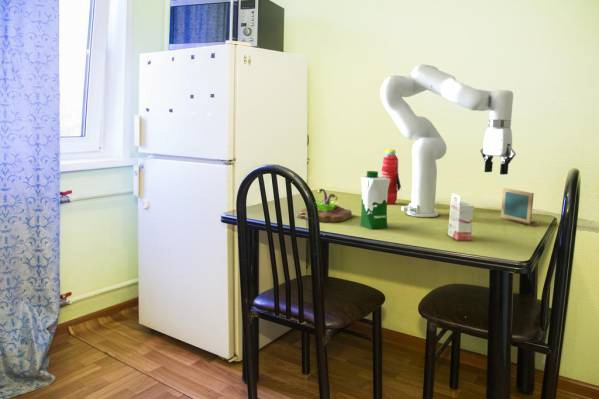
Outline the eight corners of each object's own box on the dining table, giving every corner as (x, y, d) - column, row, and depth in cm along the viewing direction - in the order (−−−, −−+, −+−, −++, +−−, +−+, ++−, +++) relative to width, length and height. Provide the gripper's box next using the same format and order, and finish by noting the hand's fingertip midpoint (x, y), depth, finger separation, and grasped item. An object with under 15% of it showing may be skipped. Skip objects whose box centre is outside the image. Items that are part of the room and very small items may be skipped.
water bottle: (406, 205, 229) (409, 150, 225) (394, 206, 224) (396, 150, 220) (387, 201, 239) (389, 148, 234) (375, 202, 234) (377, 149, 230)
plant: (315, 210, 214) (316, 184, 212) (357, 215, 204) (358, 188, 202) (291, 218, 197) (291, 189, 195) (335, 224, 187) (336, 194, 185)
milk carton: (376, 223, 190) (378, 170, 187) (391, 227, 182) (393, 173, 179) (356, 225, 186) (358, 171, 183) (371, 230, 178) (373, 174, 175)
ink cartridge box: (471, 240, 165) (475, 196, 162) (457, 241, 164) (460, 196, 162) (461, 234, 173) (464, 192, 171) (447, 234, 173) (450, 192, 170)
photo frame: (532, 193, 186) (542, 192, 188) (503, 188, 199) (512, 187, 201) (529, 223, 188) (539, 222, 190) (500, 216, 201) (510, 215, 203)
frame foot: (532, 226, 188) (533, 221, 188) (502, 218, 202) (502, 214, 201) (537, 225, 189) (537, 221, 189) (506, 218, 203) (506, 213, 202)
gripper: (474, 124, 190) (471, 171, 193) (510, 125, 174) (506, 176, 177) (489, 124, 193) (486, 170, 196) (526, 125, 177) (522, 175, 180)
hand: (495, 172), depth 187 cm, fingers open, 7 cm apart
